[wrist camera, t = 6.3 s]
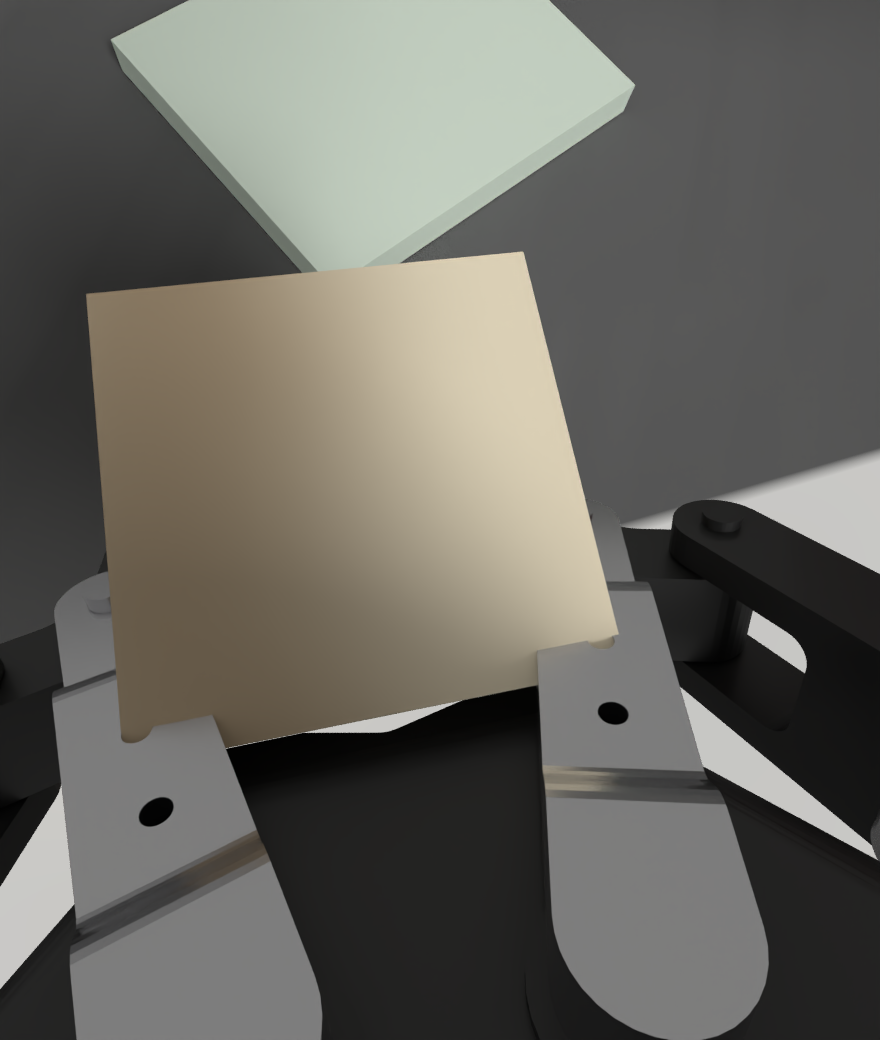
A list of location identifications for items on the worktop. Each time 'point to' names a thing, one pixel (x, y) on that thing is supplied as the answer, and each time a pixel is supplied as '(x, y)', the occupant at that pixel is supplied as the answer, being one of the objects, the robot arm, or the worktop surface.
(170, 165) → the worktop surface
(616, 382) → the worktop surface
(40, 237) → the worktop surface
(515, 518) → the maple block
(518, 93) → the sage board
